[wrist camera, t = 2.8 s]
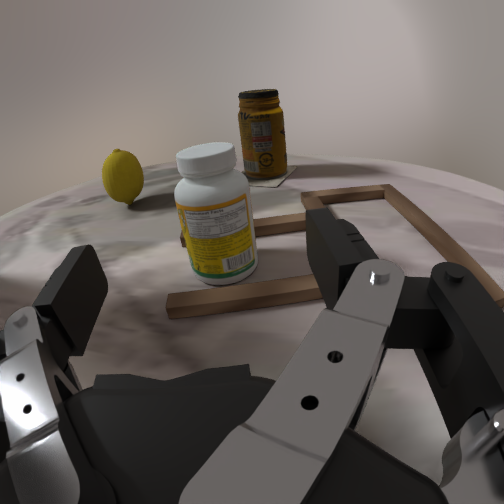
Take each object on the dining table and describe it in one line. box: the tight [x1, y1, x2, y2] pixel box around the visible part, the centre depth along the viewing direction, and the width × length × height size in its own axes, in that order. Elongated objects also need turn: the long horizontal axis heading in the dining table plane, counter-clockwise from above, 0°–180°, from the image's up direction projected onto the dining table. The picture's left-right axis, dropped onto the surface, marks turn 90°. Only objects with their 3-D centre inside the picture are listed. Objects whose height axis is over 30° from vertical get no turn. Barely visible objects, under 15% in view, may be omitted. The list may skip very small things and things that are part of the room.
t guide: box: [166, 184, 504, 319], centre depth 25 cm, size 24×21×1 cm
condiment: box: [238, 89, 297, 187], centre depth 40 cm, size 7×8×12 cm
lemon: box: [102, 149, 144, 205], centre depth 38 cm, size 6×6×8 cm
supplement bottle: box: [174, 142, 258, 285], centre depth 23 cm, size 5×5×10 cm
